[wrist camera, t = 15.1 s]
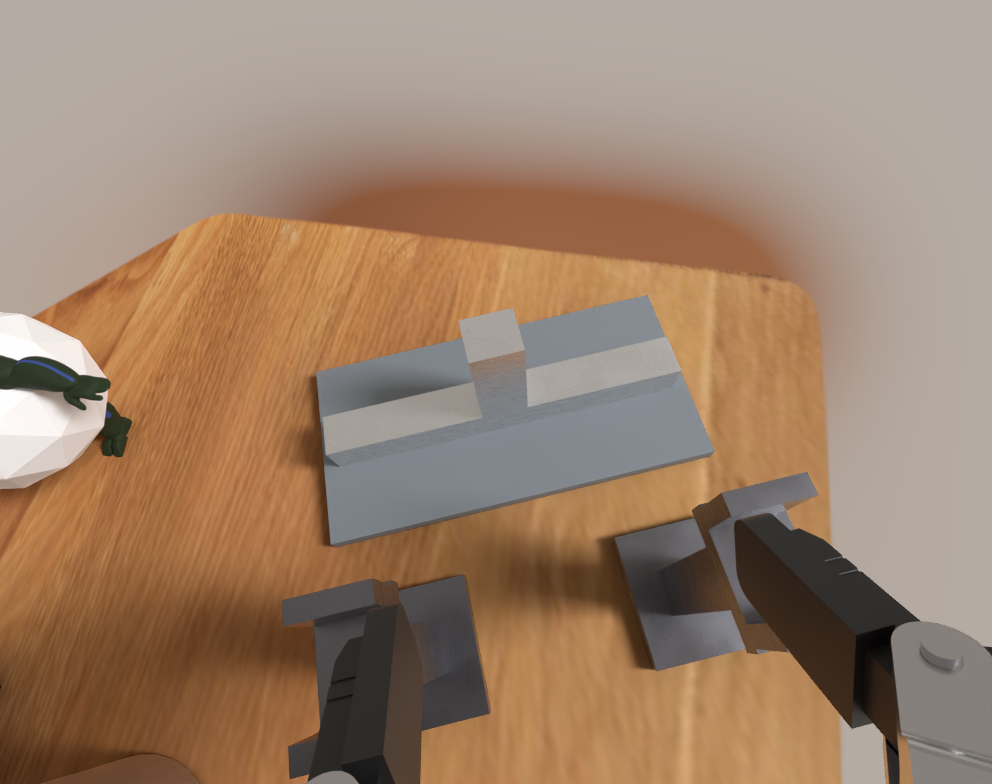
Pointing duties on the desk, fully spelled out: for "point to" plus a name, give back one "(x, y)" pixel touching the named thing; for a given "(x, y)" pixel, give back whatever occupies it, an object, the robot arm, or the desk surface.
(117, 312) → the desk surface
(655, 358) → the rail
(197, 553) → the desk surface
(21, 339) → the figurine
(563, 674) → the desk surface
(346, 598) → the hook stand
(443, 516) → the mat
